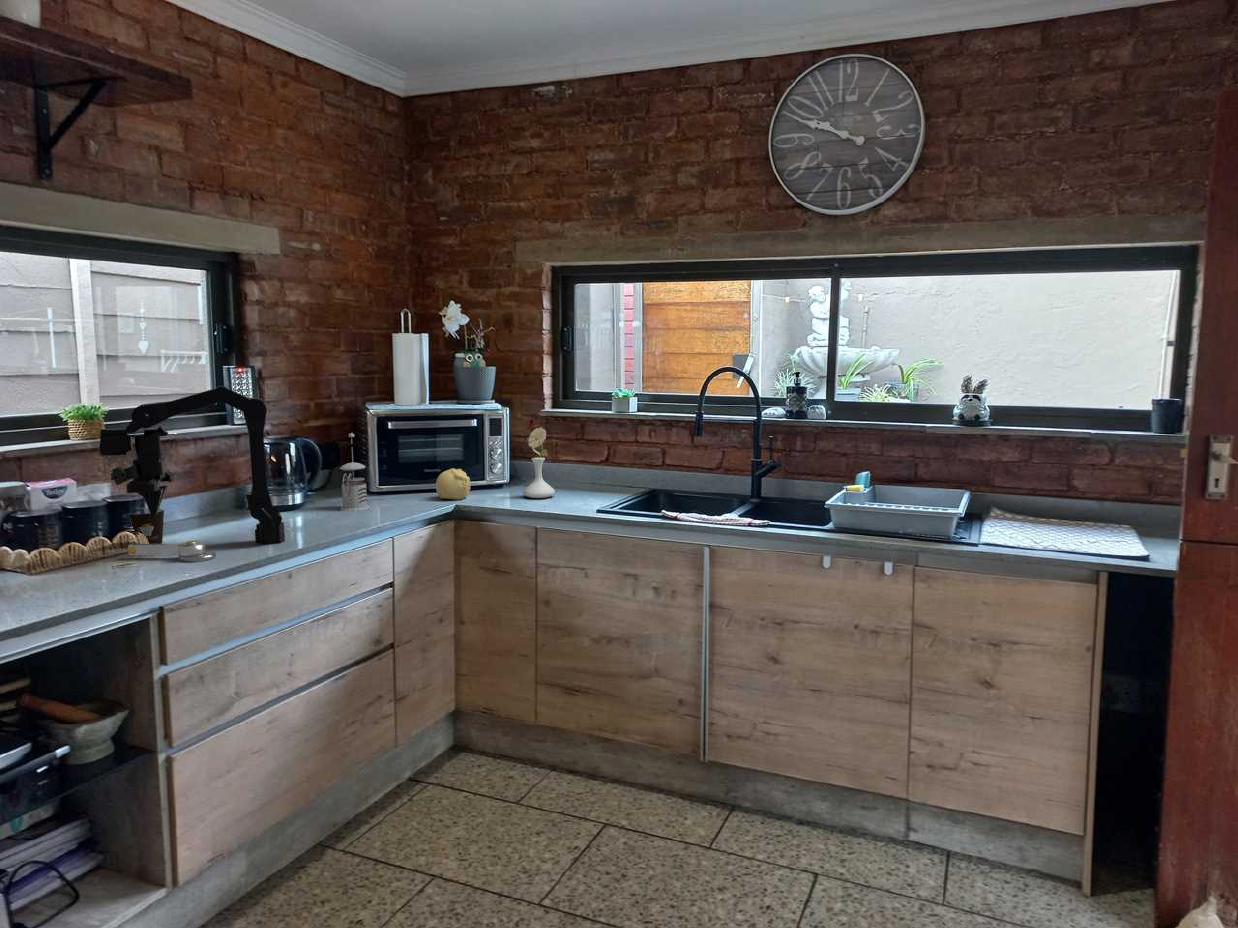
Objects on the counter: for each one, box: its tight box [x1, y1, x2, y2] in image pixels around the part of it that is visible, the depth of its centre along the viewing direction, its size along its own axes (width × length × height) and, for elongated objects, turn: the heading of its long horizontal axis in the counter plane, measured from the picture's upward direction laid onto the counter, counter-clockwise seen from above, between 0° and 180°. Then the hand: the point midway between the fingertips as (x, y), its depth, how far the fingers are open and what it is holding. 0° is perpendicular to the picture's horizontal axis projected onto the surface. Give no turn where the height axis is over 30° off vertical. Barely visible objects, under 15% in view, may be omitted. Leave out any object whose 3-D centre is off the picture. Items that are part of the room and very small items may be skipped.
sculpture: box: [435, 467, 472, 500], centre depth 303 cm, size 12×12×11 cm
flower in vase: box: [522, 426, 556, 499], centre depth 303 cm, size 13×11×25 cm
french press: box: [339, 432, 371, 512], centre depth 284 cm, size 10×12×25 cm
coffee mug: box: [130, 507, 165, 544], centre depth 231 cm, size 12×9×10 cm
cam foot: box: [127, 540, 217, 563], centre depth 215 cm, size 21×8×4 cm, turn 88°
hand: (153, 515), depth 220 cm, fingers closed
